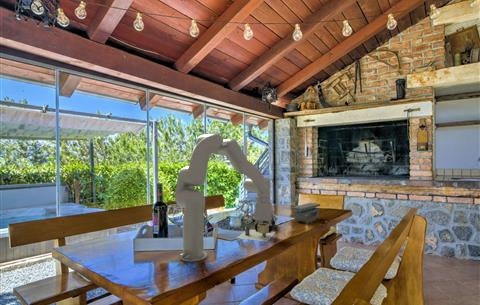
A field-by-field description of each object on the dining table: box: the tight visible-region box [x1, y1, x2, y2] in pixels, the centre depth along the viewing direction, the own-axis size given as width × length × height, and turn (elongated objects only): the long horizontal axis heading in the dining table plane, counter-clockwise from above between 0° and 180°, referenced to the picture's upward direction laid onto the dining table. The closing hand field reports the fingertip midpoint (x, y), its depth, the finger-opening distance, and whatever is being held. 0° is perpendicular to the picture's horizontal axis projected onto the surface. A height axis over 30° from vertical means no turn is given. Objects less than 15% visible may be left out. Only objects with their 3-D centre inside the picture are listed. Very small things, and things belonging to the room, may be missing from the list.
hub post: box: [244, 225, 250, 236], centre depth 166 cm, size 3×3×5 cm
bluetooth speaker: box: [258, 218, 276, 231], centre depth 187 cm, size 23×9×10 cm, turn 2°
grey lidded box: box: [291, 202, 321, 224], centre depth 206 cm, size 25×8×11 cm, turn 135°
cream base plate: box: [236, 229, 276, 242], centre depth 166 cm, size 20×18×6 cm
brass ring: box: [257, 222, 269, 234], centre depth 162 cm, size 7×7×4 cm
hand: (263, 231), depth 162 cm, fingers closed on brass ring, 6 cm apart
